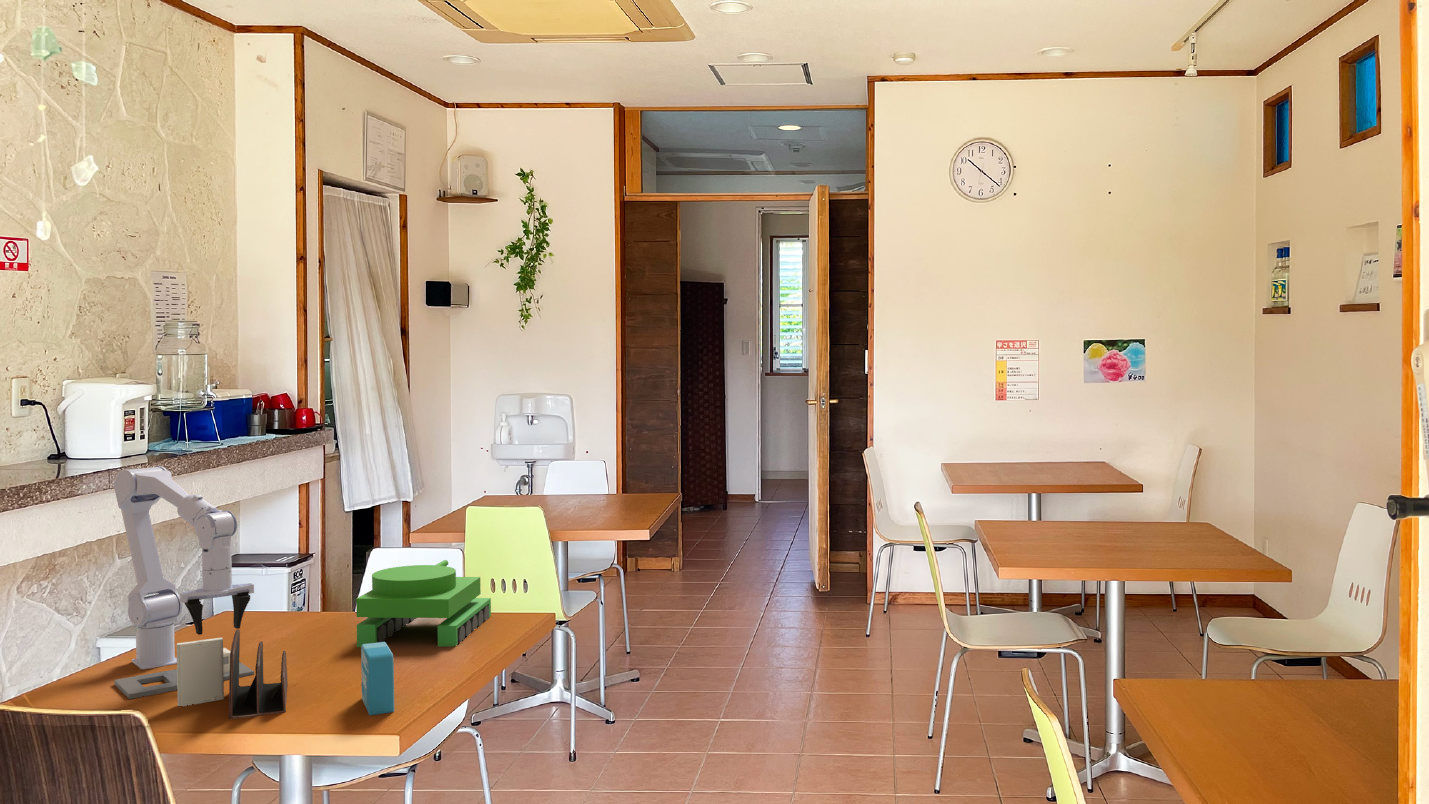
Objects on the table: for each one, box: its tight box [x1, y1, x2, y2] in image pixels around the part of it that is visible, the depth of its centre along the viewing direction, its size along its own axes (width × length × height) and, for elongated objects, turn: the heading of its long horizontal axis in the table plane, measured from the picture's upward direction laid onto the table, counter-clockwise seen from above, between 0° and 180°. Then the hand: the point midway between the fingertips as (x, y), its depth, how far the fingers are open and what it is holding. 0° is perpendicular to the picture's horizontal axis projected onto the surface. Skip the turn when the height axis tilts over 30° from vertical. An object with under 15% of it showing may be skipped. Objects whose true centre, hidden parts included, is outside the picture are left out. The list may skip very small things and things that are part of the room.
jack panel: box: [113, 661, 255, 700], centre depth 225 cm, size 13×24×1 cm, turn 131°
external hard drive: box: [176, 637, 225, 707], centre depth 209 cm, size 2×8×12 cm, turn 123°
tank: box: [355, 559, 492, 648], centre depth 264 cm, size 24×35×16 cm
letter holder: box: [228, 628, 289, 720], centre depth 209 cm, size 10×20×14 cm, turn 21°
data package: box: [360, 641, 395, 716], centre depth 204 cm, size 12×4×12 cm, turn 25°
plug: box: [223, 647, 231, 673], centre depth 230 cm, size 7×4×5 cm, turn 41°
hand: (218, 630), depth 229 cm, fingers open, 7 cm apart
